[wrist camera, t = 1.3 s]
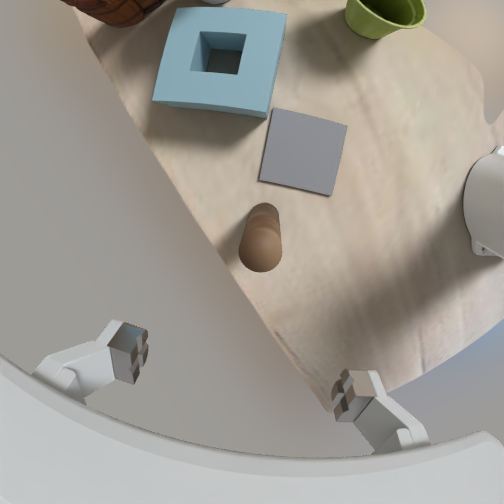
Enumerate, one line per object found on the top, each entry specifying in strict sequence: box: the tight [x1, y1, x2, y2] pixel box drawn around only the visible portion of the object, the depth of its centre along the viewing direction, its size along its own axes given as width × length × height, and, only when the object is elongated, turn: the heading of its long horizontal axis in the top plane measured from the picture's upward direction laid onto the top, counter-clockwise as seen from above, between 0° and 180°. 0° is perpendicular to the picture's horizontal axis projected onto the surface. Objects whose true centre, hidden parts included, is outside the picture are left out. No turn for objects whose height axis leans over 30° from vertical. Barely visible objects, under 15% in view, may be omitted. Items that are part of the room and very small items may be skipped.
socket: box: [152, 7, 287, 119], centre depth 24 cm, size 12×12×6 cm
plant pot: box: [345, 0, 426, 39], centre depth 19 cm, size 9×9×9 cm
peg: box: [239, 203, 282, 272], centre depth 28 cm, size 4×4×12 cm
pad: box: [259, 108, 347, 196], centre depth 30 cm, size 9×9×1 cm
